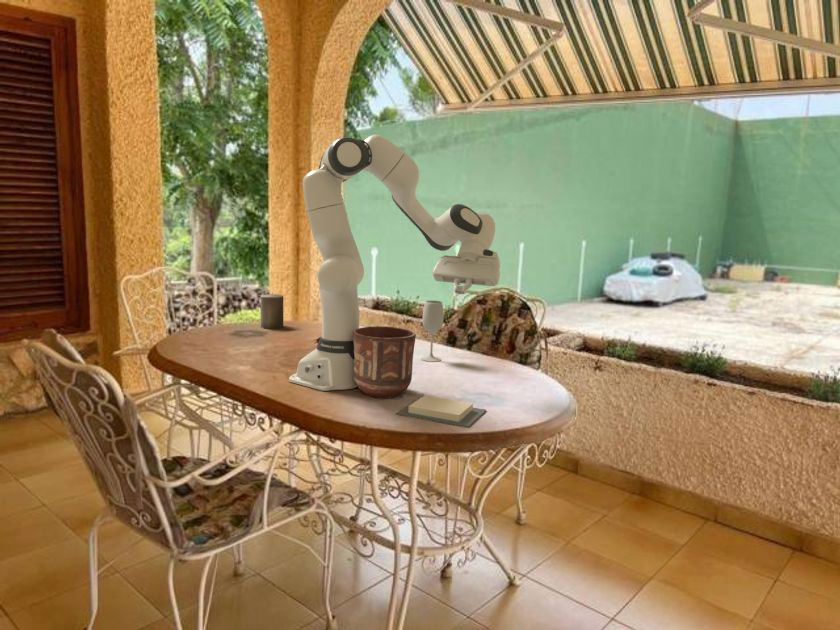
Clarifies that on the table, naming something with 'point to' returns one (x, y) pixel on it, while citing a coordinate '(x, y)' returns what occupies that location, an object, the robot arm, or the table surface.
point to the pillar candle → (272, 311)
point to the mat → (463, 423)
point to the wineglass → (432, 323)
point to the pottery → (383, 360)
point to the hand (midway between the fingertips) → (459, 292)
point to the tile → (441, 408)
